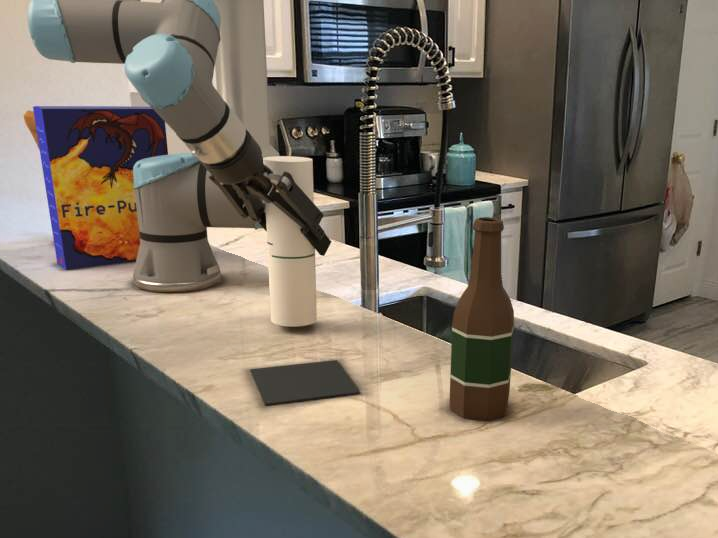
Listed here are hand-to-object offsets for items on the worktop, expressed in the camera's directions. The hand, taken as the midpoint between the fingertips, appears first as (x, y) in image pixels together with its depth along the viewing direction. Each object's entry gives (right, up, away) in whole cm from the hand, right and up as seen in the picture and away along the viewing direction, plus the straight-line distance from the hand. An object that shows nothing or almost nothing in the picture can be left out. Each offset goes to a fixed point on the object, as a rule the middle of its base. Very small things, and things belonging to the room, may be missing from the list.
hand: (305, 244), depth 120 cm
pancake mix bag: (-61, +6, +44) cm, 76 cm away
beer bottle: (+27, -25, -24) cm, 44 cm away
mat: (+4, -21, -19) cm, 29 cm away
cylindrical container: (-2, -12, +1) cm, 12 cm away
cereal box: (-47, +2, +36) cm, 59 cm away
